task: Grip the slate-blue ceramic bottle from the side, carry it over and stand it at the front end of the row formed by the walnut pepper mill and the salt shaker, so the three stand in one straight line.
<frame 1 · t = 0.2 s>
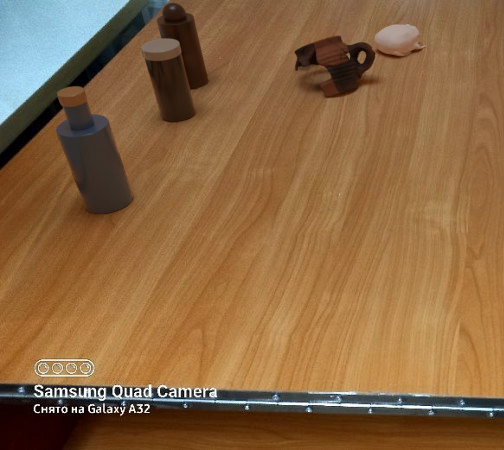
garlic: (399, 49, 124), on the table
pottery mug: (338, 83, 113), on the table
blue bottle: (109, 201, 86), on the table
salt shaker: (178, 114, 104), on the table
pepper mill: (191, 82, 113), on the table
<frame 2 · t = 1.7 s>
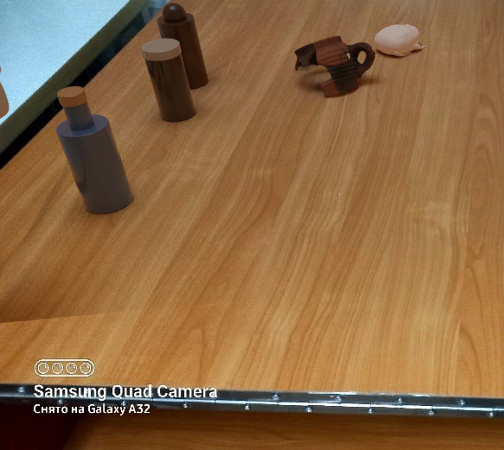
nothing on the table moved.
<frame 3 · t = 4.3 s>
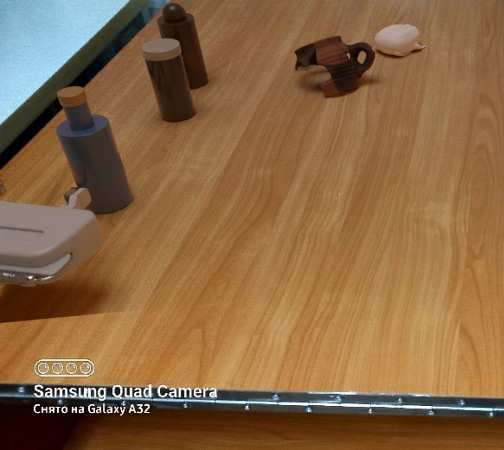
hand: (40, 188, 76), 7 cm above the table, tool horizontal, fingers open, 8 cm apart
nothing on the table moved.
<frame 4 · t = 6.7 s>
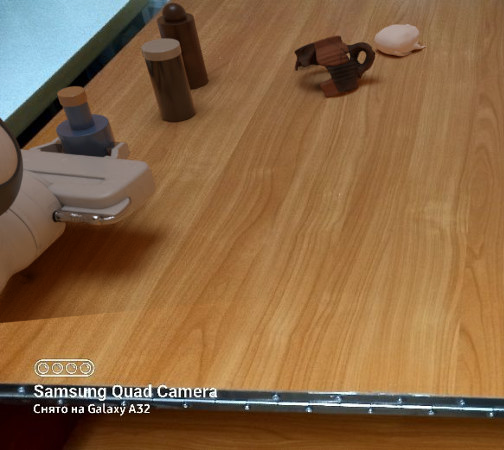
hand: (95, 144, 83), 7 cm above the table, tool horizontal, fingers closed on blue bottle, 5 cm apart
blue bottle: (109, 201, 86), on the table, touching gripper
everything else where it was.
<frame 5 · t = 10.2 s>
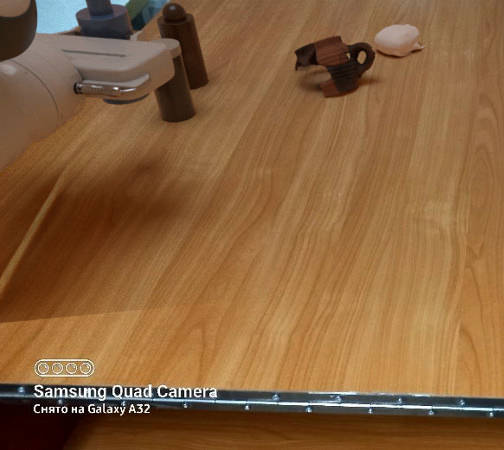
hand: (113, 34, 84), 17 cm above the table, tool horizontal, fingers closed on blue bottle, 5 cm apart
blue bottle: (126, 95, 87), point 10 cm above the table, touching gripper
everything else where it was.
when the fingers open (7 cm above the table, at t = 13.8 s): blue bottle stays where it is, on the table.
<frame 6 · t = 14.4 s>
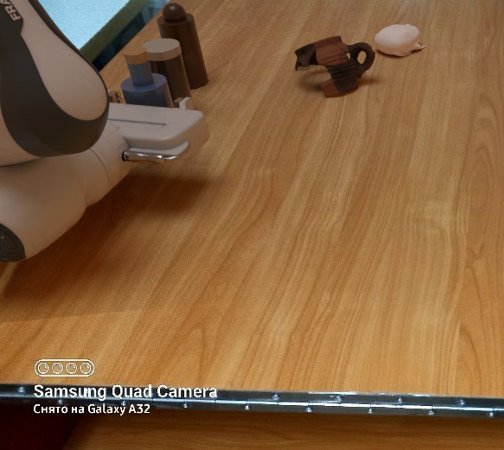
hand: (151, 98, 92), 7 cm above the table, tool horizontal, fingers open, 8 cm apart
blue bottle: (164, 153, 95), on the table
everything else where it was.
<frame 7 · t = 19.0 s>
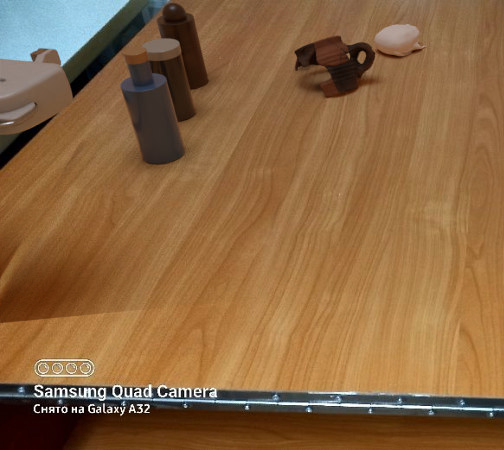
hand: (6, 52, 71), 20 cm above the table, tool horizontal, fingers open, 8 cm apart
nothing on the table moved.
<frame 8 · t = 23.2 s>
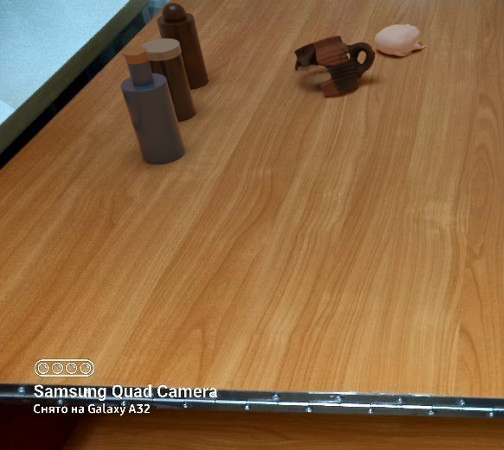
nothing on the table moved.
at the end: blue bottle 0.1 cm from the target spot on the table beside the pepper mill, on the table; blue bottle tilted 0°; the gripper is holding nothing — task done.
